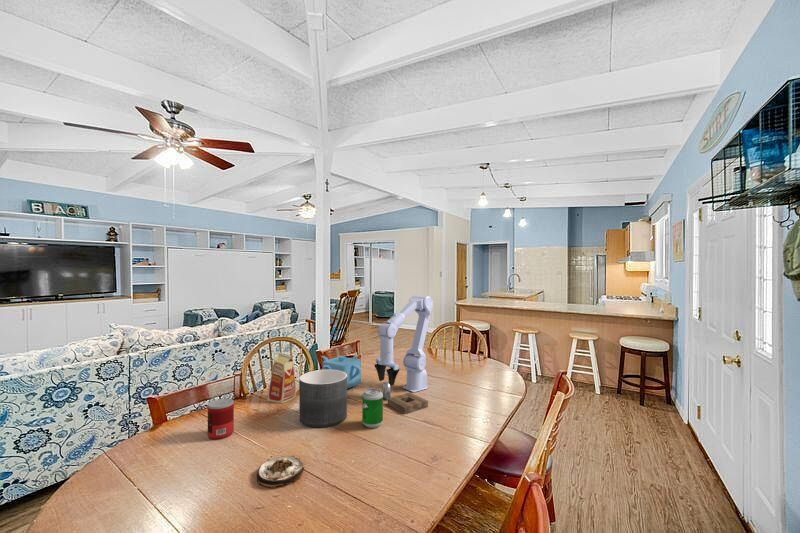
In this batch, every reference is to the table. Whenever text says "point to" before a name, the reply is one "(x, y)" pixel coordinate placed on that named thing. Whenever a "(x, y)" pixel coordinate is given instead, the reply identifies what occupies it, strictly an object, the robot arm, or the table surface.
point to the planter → (322, 398)
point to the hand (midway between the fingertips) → (386, 382)
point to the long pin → (386, 391)
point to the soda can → (372, 408)
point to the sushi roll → (280, 471)
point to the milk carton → (282, 380)
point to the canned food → (220, 418)
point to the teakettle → (345, 368)
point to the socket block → (407, 403)
